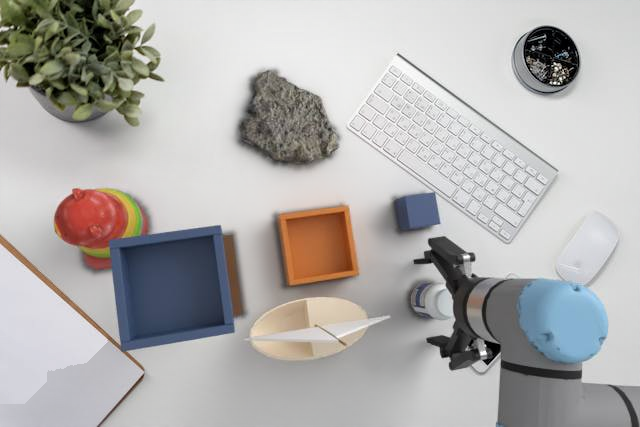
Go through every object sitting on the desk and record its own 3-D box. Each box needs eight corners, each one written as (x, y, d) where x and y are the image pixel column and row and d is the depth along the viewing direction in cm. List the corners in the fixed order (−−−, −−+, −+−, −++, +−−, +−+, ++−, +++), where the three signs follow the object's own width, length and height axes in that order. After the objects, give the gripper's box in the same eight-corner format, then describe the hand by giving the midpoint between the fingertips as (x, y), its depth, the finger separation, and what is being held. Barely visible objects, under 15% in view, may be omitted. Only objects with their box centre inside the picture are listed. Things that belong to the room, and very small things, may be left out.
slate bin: (243, 313, 80) (250, 344, 46) (161, 327, 78) (108, 369, 44) (232, 235, 81) (232, 209, 47) (151, 246, 79) (91, 228, 45)
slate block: (428, 226, 86) (440, 223, 81) (399, 230, 85) (409, 228, 80) (423, 196, 87) (435, 191, 82) (394, 200, 86) (404, 196, 81)
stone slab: (316, 185, 84) (319, 182, 81) (223, 131, 82) (223, 126, 79) (352, 120, 86) (357, 115, 83) (262, 67, 85) (264, 59, 82)
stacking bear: (67, 204, 77) (19, 184, 60) (136, 182, 79) (109, 157, 62) (90, 273, 77) (49, 274, 59) (159, 250, 79) (138, 244, 61)
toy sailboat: (253, 406, 55) (243, 321, 55) (247, 364, 79) (240, 305, 80) (442, 372, 58) (430, 292, 59) (380, 342, 83) (372, 286, 84)
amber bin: (353, 274, 83) (359, 274, 79) (286, 285, 81) (289, 285, 77) (343, 208, 84) (348, 205, 80) (277, 217, 82) (279, 214, 78)
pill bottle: (448, 303, 85) (475, 307, 76) (422, 323, 84) (446, 329, 75) (429, 275, 85) (454, 276, 76) (403, 295, 84) (425, 298, 75)
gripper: (541, 406, 62) (462, 371, 84) (505, 205, 64) (437, 221, 86) (482, 418, 61) (418, 380, 82) (448, 213, 63) (393, 228, 84)
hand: (427, 299), depth 84 cm, fingers open, 12 cm apart
